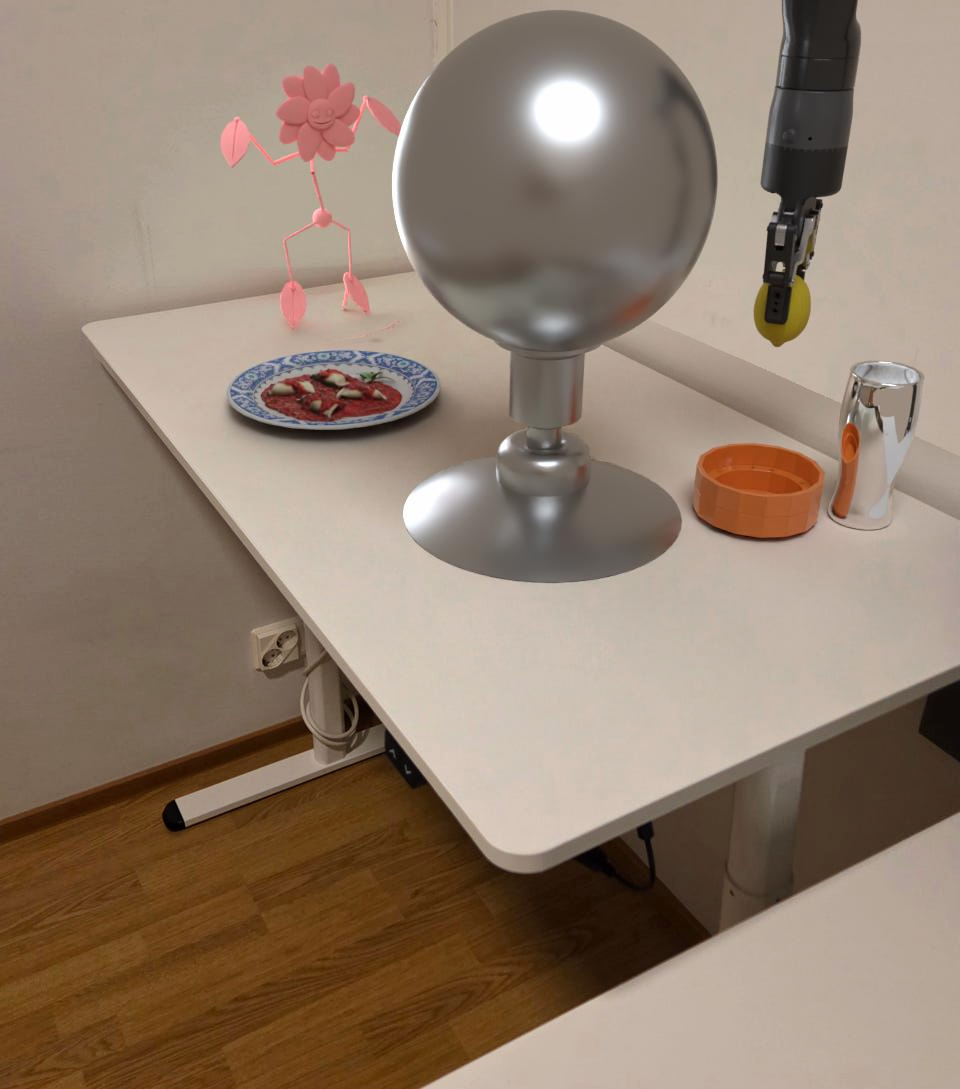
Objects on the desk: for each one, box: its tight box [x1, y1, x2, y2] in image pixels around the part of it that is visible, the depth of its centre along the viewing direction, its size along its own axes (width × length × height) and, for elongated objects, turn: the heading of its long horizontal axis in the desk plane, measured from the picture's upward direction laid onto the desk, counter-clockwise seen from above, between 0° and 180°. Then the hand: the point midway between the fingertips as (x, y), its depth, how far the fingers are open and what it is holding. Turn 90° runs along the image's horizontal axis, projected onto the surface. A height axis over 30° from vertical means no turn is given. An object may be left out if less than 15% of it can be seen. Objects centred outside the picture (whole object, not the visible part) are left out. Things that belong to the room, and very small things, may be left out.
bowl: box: [692, 442, 826, 538], centre depth 108 cm, size 12×12×5 cm
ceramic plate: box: [225, 349, 442, 431], centre depth 134 cm, size 26×26×3 cm
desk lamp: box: [391, 9, 719, 583], centre depth 99 cm, size 28×28×45 cm
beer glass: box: [827, 360, 925, 531], centre depth 106 cm, size 7×7×15 cm
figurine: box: [220, 63, 402, 337], centre depth 152 cm, size 15×26×35 cm, turn 122°
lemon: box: [753, 269, 812, 348], centre depth 111 cm, size 6×6×8 cm
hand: (782, 313), depth 111 cm, fingers closed on lemon, 5 cm apart
